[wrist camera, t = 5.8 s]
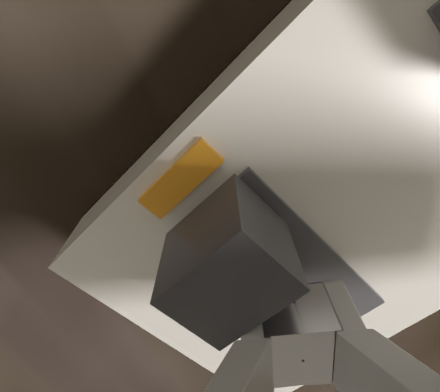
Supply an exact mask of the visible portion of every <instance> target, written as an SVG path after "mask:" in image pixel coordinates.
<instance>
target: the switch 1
mask: <svg viewBox="0 0 440 392" xmlns="http://www.w3.org/2000/svg"><path fill="white" fill-rule="evenodd" d="M308 292H310V288H309V285H308V282H307V279H306V277H305V274H304V271H303V268H302V265H301V262H300V259H299V257H298V254H297V251H296V248H295V245H294V242H293V239H292V237H291V234H290V231H289V228H288V225H287V223H286V222H285V221H284V220H283V219H282V218H281V217H280V216H279V215H278V214H277V213H276V212H275V211H274V210H273V209H272V208H271V207H270V206H269V205H267V204H266V203H265V202H264V201H263V200H262V199H261V198H260V197H259V196H258V195H257V194H256V193H255V192H254V191H253V190H252V189H251V188H250V187H249V186H248V185H246V184H245V183H244V182H243V181H242V180H241V179H240V178H239V177H238V176H237V175H236V174H235V173H234V174H233V175H232V176H231V177H230V178H229V179H227V180H226V181H225V182H224V183H223V184H222V185H221V186H219V187H218V188H217V189H216V190H215V191H214V192H213V193H212V194H210V195H209V196H208V197H207V198H206V199H205V200H204V201H203V202H201V203H200V204H199V205H198V206H197V207H196V208H195V209H194V210H192V211H191V212H190V213H189V214H188V215H187V216H186V217H184V218H183V219H182V220H181V221H180V222H179V223H178V224H177V225H175V226H174V227H173V228H172V229H171V230H170V231H169V232H168V233H166V237H165V241H164V245H163V250H162V254H161V258H160V262H159V267H158V271H157V275H156V280H155V284H154V288H153V292H152V297H151V301H150V305H152V306H153V307H155V308H156V309H158V310H159V311H161V312H162V313H164V314H165V315H167V316H168V317H169V318H171V319H172V320H174V321H175V322H177V323H178V324H180V325H181V326H183V327H184V328H186V329H187V330H189V331H190V332H192V333H193V334H195V335H196V336H198V337H199V338H201V339H202V340H204V341H205V342H207V343H208V344H210V345H211V346H213V347H214V348H216V349H217V350H218V351H221V350H222V349H224V348H225V347H227V346H228V345H230V344H231V343H233V342H234V341H236V340H237V339H239V338H240V337H241V336H242V335H245V334H247V333H248V332H250V331H251V330H253V329H254V328H256V327H257V326H259V325H260V324H262V323H263V322H265V321H266V320H268V319H269V318H271V317H272V316H274V315H275V314H277V313H278V312H280V311H281V310H283V309H284V308H286V307H287V306H289V305H290V304H292V303H293V302H295V301H296V300H298V299H299V298H301V297H302V296H304V295H305V294H307V293H308Z"/></svg>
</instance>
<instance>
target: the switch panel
mask: <svg viewBox="0 0 440 392" xmlns="http://www.w3.org/2000/svg"><path fill="white" fill-rule="evenodd" d="M234 173H235V174H236V175H237V176H238V177H239V178H240V179H241V180H242V181H243V182H244V183H245V184H246V185H248V186H249V187H250V188H251V189H252V190H253V191H254V192H255V193H256V194H257V195H258V196H259V197H260V198H261V199H262V200H263V201H264V202H265V203H266V204H267V205H269V206H270V207H271V208H272V209H273V210H274V211H275V212H276V213H277V214H278V215H279V216H280V217H281V218H282V219H283V220H284V221H285V222H286V223H287V225H288V228H289V231H290V234H291V237H292V239H293V242H294V245H295V248H296V251H297V254H298V257H299V259H300V262H301V265H302V268H303V271H304V274H305V277H306V279H307V282H308V283H311V282H321V281H328V280H338V279H340V280H342V281H343V283H344V285H345V287H346V289H347V291H348V293H349V295H350V297H351V299H352V301H353V303H354V305H355V306H356V308H357V310H358V312H359V314H360V316H361V318H362V320H363V322H364V324H365V326H366V328H367V329H374V330H376V331H377V332H379V333H380V334H381V335H383V336H384V337H386V338H389V337H391V336H393V335H394V334H396V333H398V332H400V331H402V330H403V329H405V328H407V327H409V326H411V325H412V324H414V323H416V322H418V321H420V320H421V319H423V318H425V317H427V316H428V315H430V314H432V313H434V312H436V311H437V310H439V309H440V0H292V1H291V2H290V3H289V4H288V5H287V6H286V7H285V8H284V9H283V10H282V11H281V12H280V13H279V14H278V15H277V16H276V17H275V18H274V19H273V20H272V21H271V22H270V23H269V25H268V26H267V27H266V28H265V29H264V30H263V31H262V32H261V33H260V34H259V35H258V36H257V37H256V38H255V39H254V40H253V41H252V42H251V43H250V44H249V45H248V46H247V47H246V48H245V49H244V50H243V51H242V52H241V53H240V55H239V56H238V57H237V58H236V59H235V60H234V61H233V62H232V63H231V64H230V65H229V66H228V67H227V68H226V69H225V70H224V71H223V72H222V73H221V74H220V75H219V76H218V77H217V78H216V79H215V80H214V81H213V82H212V83H211V85H210V86H209V87H208V88H207V89H206V90H205V91H204V92H203V93H202V94H201V95H200V96H199V97H198V98H197V99H196V100H195V101H194V102H193V103H192V104H191V105H190V106H189V107H188V108H187V109H186V110H185V111H184V112H183V113H182V115H181V116H180V117H179V118H178V119H177V120H176V121H175V122H174V123H173V124H172V125H171V126H170V127H169V128H168V129H167V130H166V131H165V132H164V133H163V134H162V135H161V136H160V137H159V138H158V139H157V140H156V141H155V142H154V143H153V144H152V146H151V147H150V148H149V149H148V150H147V151H146V152H145V153H144V154H143V155H142V156H141V157H140V158H139V159H138V160H137V161H136V162H135V163H134V164H133V165H132V166H131V167H130V168H129V169H128V170H127V171H126V172H125V173H124V174H123V176H122V177H121V178H120V179H119V180H118V181H117V182H116V183H115V184H114V185H113V186H112V187H111V188H110V189H109V190H108V191H107V192H106V193H105V194H104V195H103V196H102V197H101V198H100V199H99V200H98V201H97V202H96V203H95V204H94V206H93V207H92V208H91V209H90V210H89V211H88V212H87V213H86V214H85V215H84V216H83V217H82V219H81V220H80V222H79V223H78V225H77V226H76V227H75V229H74V230H73V232H72V233H71V235H70V236H69V238H68V239H67V241H66V242H65V244H64V245H63V247H62V248H61V250H60V251H59V252H58V254H57V255H56V257H55V258H54V260H53V261H52V263H51V264H50V266H49V267H48V268H49V269H50V270H52V271H53V272H55V273H57V274H58V275H60V276H61V277H63V278H64V279H66V280H68V281H69V282H71V283H72V284H74V285H75V286H77V287H79V288H80V289H82V290H83V291H85V292H86V293H88V294H90V295H91V296H93V297H94V298H96V299H97V300H99V301H101V302H102V303H104V304H105V305H107V306H108V307H110V308H112V309H113V310H115V311H116V312H118V313H120V314H121V315H123V316H124V317H126V318H127V319H129V320H131V321H132V322H134V323H135V324H137V325H138V326H140V327H142V328H143V329H145V330H146V331H148V332H149V333H151V334H153V335H154V336H156V337H157V338H159V339H160V340H162V341H164V342H165V343H167V344H168V345H170V346H171V347H173V348H175V349H176V350H178V351H179V352H181V353H182V354H184V355H186V356H187V357H189V358H190V359H192V360H193V361H195V362H197V363H198V364H200V365H201V366H203V367H204V368H206V369H208V370H209V371H211V372H212V373H215V372H216V370H217V368H218V367H219V365H220V364H221V362H222V360H223V359H224V357H225V356H226V354H227V353H228V351H229V349H230V348H231V346H232V345H233V343H234V342H233V343H231V344H230V345H228V346H227V347H225V348H224V349H222V350H221V351H218V350H217V349H216V348H214V347H213V346H211V345H210V344H208V343H207V342H205V341H204V340H202V339H201V338H199V337H198V336H196V335H195V334H193V333H192V332H190V331H189V330H187V329H186V328H184V327H183V326H181V325H180V324H178V323H177V322H175V321H174V320H172V319H171V318H169V317H168V316H167V315H165V314H164V313H162V312H161V311H159V310H158V309H156V308H155V307H153V306H152V305H150V301H151V297H152V292H153V288H154V284H155V280H156V275H157V271H158V267H159V262H160V258H161V254H162V250H163V245H164V241H165V237H166V233H168V232H169V231H170V230H171V229H172V228H173V227H174V226H175V225H177V224H178V223H179V222H180V221H181V220H182V219H183V218H184V217H186V216H187V215H188V214H189V213H190V212H191V211H192V210H194V209H195V208H196V207H197V206H198V205H199V204H200V203H201V202H203V201H204V200H205V199H206V198H207V197H208V196H209V195H210V194H212V193H213V192H214V191H215V190H216V189H217V188H218V187H219V186H221V185H222V184H223V183H224V182H225V181H226V180H227V179H229V178H230V177H231V176H232V175H233V174H234ZM237 340H241V337H240V338H239V339H237ZM301 386H303V385H299V386H290V387H281V388H274V392H292V391H294V390H296V389H297V388H299V387H301Z"/></svg>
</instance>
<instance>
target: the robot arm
mask: <svg viewBox="0 0 440 392" xmlns="http://www.w3.org/2000/svg"><path fill="white" fill-rule="evenodd" d="M308 285H309V288H310V292H308V293H307V294H305V295H304V296H302V297H301V298H299V299H298V300H296V301H295V302H293V303H292V304H290V305H289V306H287V307H286V308H284V309H283V310H281V311H280V312H278V313H277V314H275V315H274V316H272V317H271V318H269V319H268V320H266V321H265V322H263V323H262V324H260V325H259V326H257V327H256V328H254V329H253V330H251V331H250V332H248V333H247V334H245V335H242V336H241V340H236V341H234V343H233V345H232V346H231V348H230V349H229V351H228V353H227V354H226V356H225V357H224V359H223V360H222V362H221V364H220V365H219V367H218V368H217V370H216V372H215V373H214V375H213V376H212V378H211V379H210V381H209V383H208V384H207V386H206V387H205V389H204V391H203V392H274V388H281V387H290V386H299V385H315V384H333V386H334V387H335V389H336V390H337V391H338V392H440V375H439V374H438V373H436V372H435V371H433V370H432V369H430V368H429V367H427V366H426V365H425V364H423V363H422V362H420V361H419V360H417V359H416V358H415V357H413V356H412V355H410V354H409V353H407V352H406V351H404V350H403V349H402V348H400V347H399V346H397V345H396V344H394V343H393V342H392V341H390V340H389V339H387V338H386V337H384V336H383V335H381V334H380V333H379V332H377V331H376V330H374V329H367V328H366V326H365V324H364V322H363V320H362V318H361V316H360V314H359V312H358V310H357V308H356V306H355V305H354V303H353V301H352V299H351V297H350V295H349V293H348V291H347V289H346V287H345V285H344V283H343V281H342V280H340V279H338V280H328V281H321V282H311V283H308Z"/></svg>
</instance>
